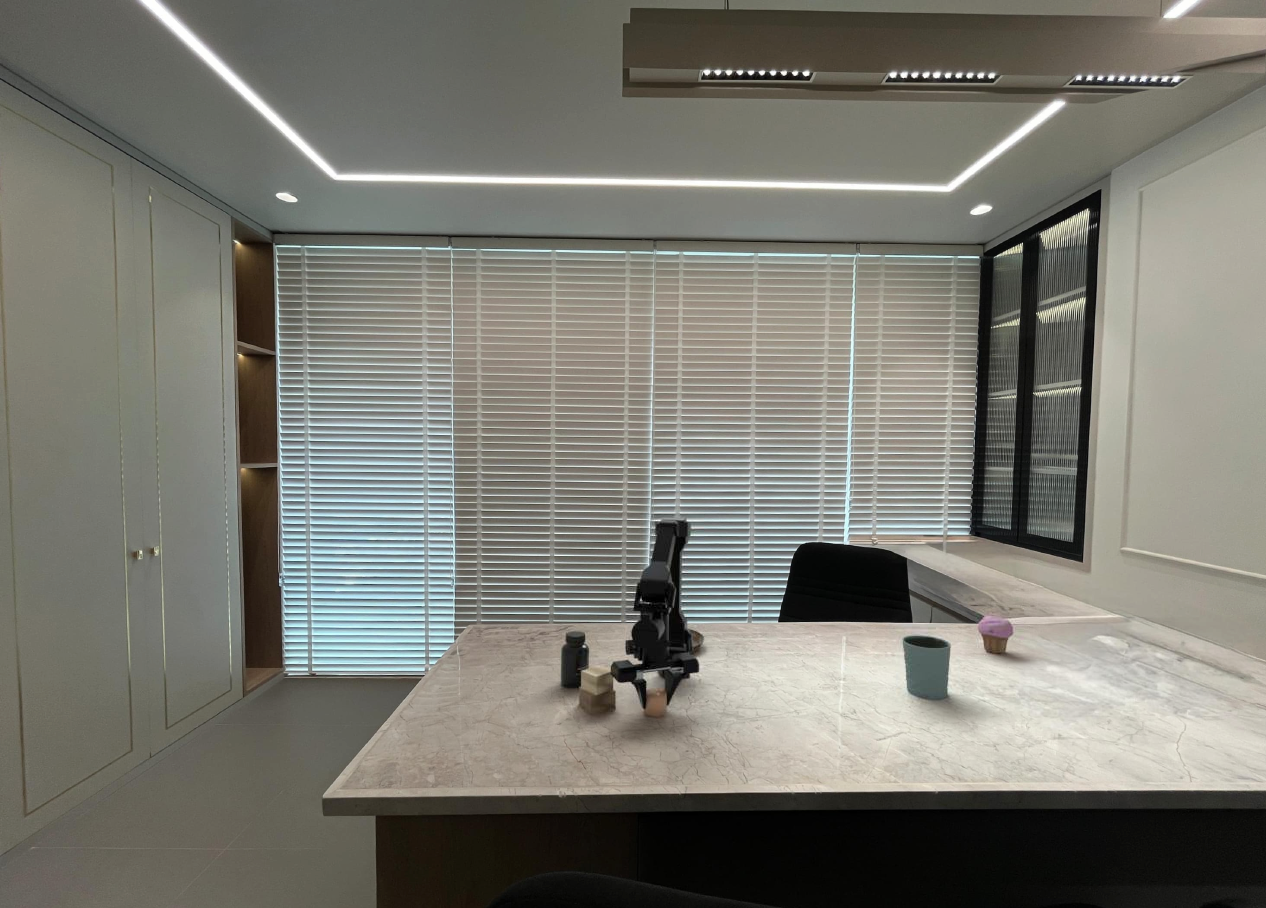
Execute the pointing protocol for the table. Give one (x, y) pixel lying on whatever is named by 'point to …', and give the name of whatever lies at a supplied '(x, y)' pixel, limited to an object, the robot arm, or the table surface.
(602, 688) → the oak block
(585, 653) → the supplement bottle
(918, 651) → the teal cup
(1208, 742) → the table surface
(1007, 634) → the cupcake
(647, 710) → the peach cylinder
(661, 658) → the robot arm
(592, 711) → the walnut block
